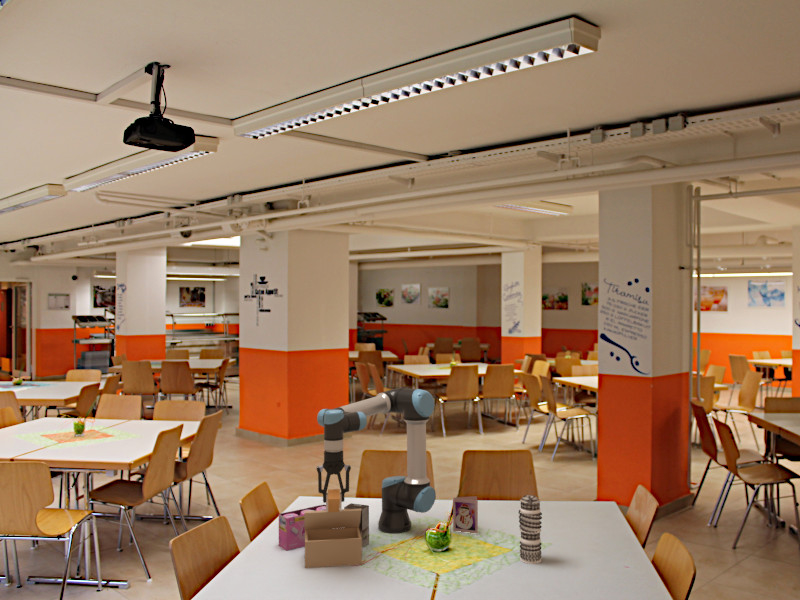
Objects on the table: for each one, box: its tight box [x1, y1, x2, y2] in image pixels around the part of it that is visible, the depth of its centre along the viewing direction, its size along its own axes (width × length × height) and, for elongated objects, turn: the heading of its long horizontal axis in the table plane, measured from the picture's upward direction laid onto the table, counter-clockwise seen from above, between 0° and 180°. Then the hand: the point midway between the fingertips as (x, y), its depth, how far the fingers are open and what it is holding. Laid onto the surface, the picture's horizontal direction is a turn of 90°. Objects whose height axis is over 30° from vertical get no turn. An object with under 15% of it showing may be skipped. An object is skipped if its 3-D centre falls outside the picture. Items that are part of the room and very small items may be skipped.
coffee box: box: [343, 503, 370, 548], centre depth 272 cm, size 9×6×16 cm
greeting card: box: [452, 495, 479, 534], centre depth 289 cm, size 11×7×15 cm, turn 68°
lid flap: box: [304, 488, 361, 530], centre depth 254 cm, size 22×25×4 cm
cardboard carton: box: [304, 527, 363, 569], centre depth 255 cm, size 22×14×10 cm, turn 99°
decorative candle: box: [518, 494, 543, 565], centre depth 254 cm, size 9×9×25 cm
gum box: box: [278, 504, 333, 551], centre depth 275 cm, size 24×8×14 cm, turn 127°
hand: (333, 510), depth 248 cm, fingers closed on lid flap, 4 cm apart
